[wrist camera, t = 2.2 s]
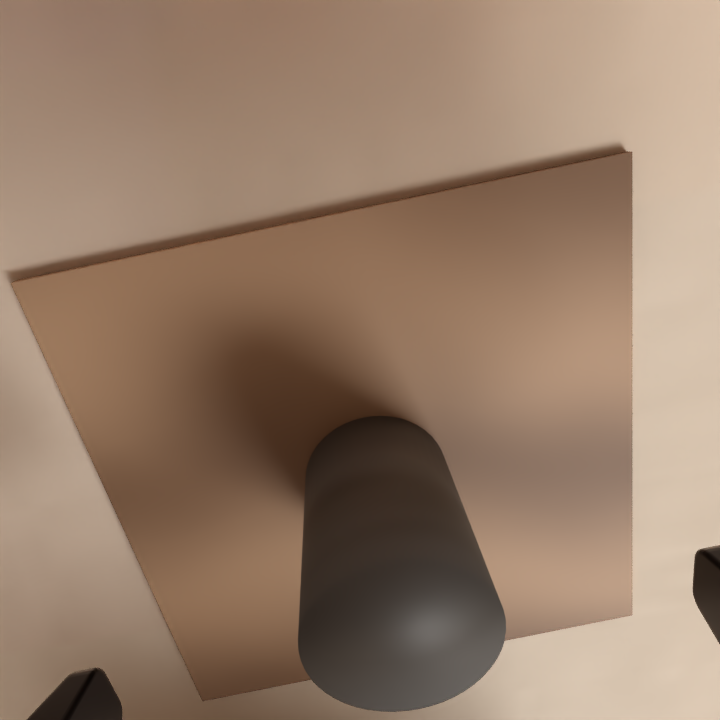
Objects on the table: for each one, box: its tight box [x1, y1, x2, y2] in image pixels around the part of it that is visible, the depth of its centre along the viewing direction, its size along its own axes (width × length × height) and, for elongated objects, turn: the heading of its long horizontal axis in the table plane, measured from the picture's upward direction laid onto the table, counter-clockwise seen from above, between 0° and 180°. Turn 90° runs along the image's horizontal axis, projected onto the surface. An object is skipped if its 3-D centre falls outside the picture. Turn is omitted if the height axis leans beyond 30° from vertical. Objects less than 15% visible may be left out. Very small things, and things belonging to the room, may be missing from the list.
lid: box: [11, 152, 632, 712], centre depth 10 cm, size 11×11×5 cm
